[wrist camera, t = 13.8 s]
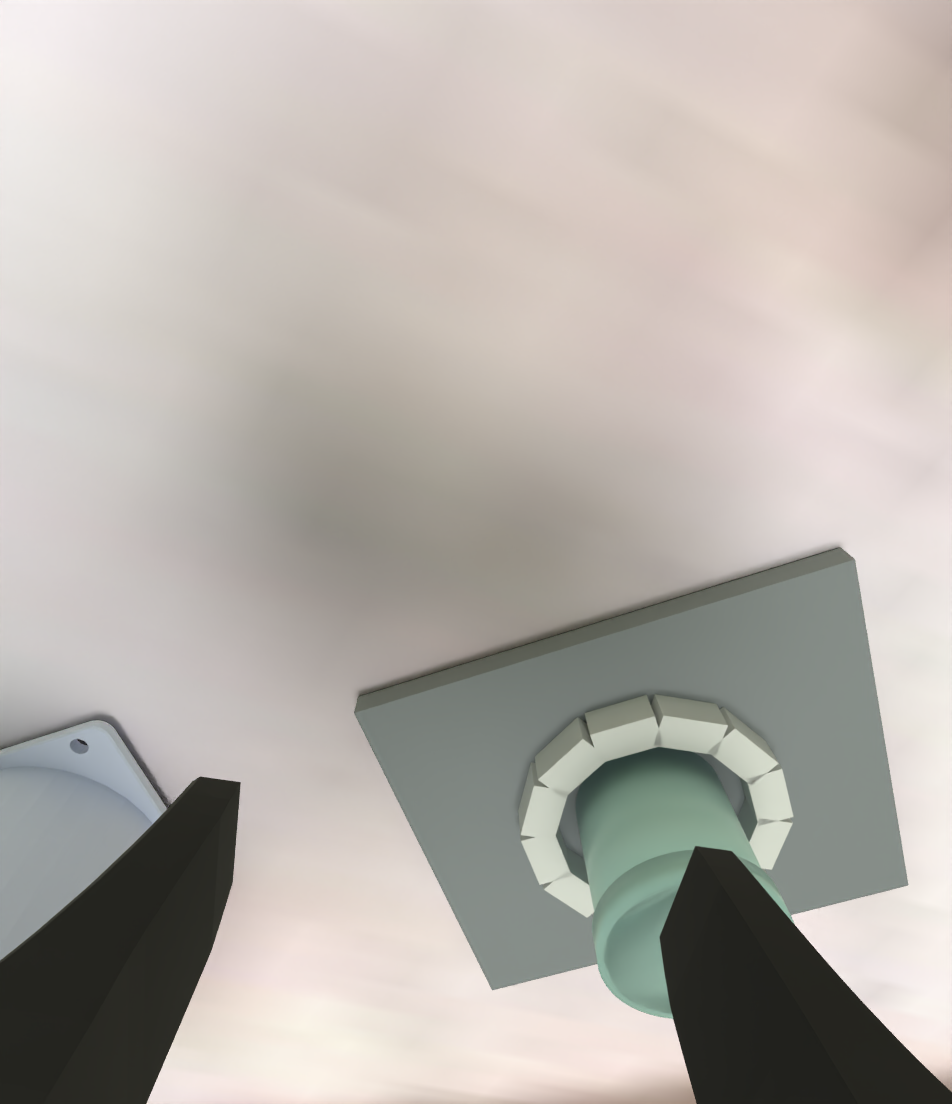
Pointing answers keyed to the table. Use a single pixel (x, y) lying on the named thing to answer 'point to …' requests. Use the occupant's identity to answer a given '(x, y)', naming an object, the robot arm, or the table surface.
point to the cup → (650, 859)
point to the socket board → (640, 724)
